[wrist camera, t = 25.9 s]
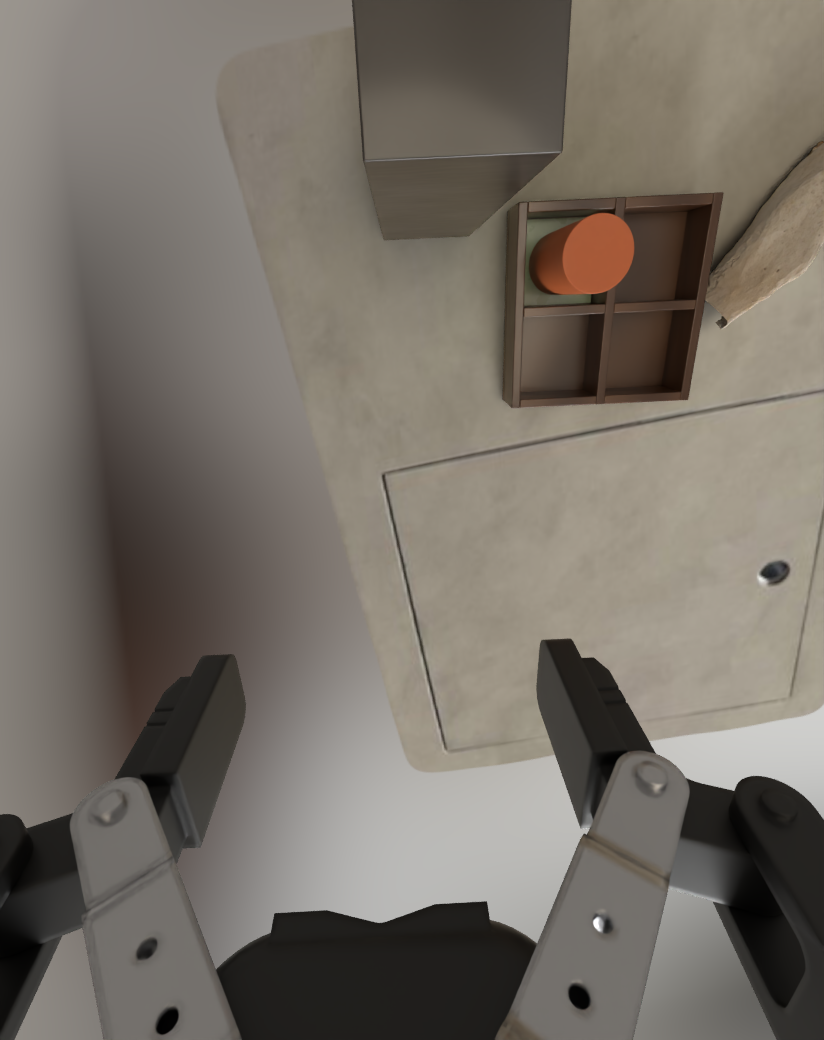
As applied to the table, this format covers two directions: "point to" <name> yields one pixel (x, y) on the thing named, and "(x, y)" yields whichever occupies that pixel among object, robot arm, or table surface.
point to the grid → (610, 306)
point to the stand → (457, 106)
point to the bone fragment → (773, 243)
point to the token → (583, 256)
